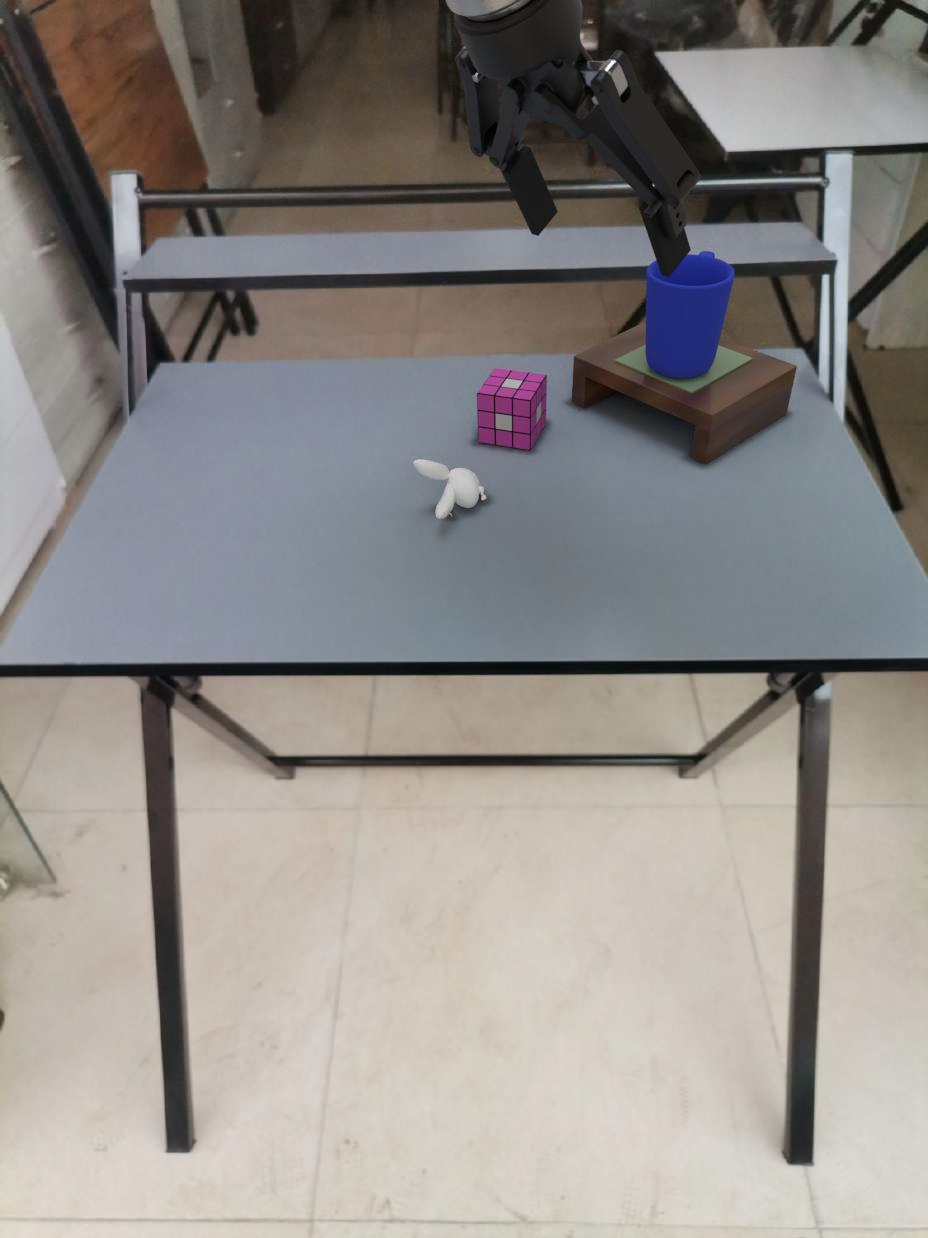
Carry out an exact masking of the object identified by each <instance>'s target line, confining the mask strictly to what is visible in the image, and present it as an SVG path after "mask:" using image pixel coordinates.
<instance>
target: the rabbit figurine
mask: <svg viewBox="0 0 928 1238" xmlns="http://www.w3.org/2000/svg"><path fill="white" fill-rule="evenodd" d="M412 464H413V467H414V469H415V470H416V471H417V472H418V473H419V474H421V475H422V476H423V477H426V478H427V479H431V480H434V481H445V480H446V481H447V483H446V486H445V488H444V490H443V492H442V493H443V494H442V496H441V498H440V500H439V501H438V503H437V505H436V506H435V510H434V511H435V517H436V519H439V520H444V519H446V518H447V517H448V515H450V516H451V517H452V518H453V514H452V513H451V512H452V511H453V509H454V506H455V504H457V505H458V506H459V507H461V508H464V509H470V508H473V507H475V506H476V505H477V503H478V501H479V499H481V501H485V500H487V499H488V497H487V495H486V494H484V492H485V488H484V486H482V485H480V481H479V478H478V477H477V475H476V473H475V472H474V471H471V470H470V469H468V468H466V467H455V468H453V469H451V470H450V471H449V468H448V466H447V465H444V464H442V463H440V462H437V461H434V460H429V459H423V458H422V459H421V458H420V459H419V458H418V459H414V461H413V462H412ZM480 496H481V497H480Z"/></svg>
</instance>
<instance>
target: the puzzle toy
mask: <svg viewBox="0 0 928 1238" xmlns="http://www.w3.org/2000/svg"><path fill="white" fill-rule="evenodd" d="M547 387H548V375H547V374H545V373H538V372H537V373H536V372H528V371H520V370H512V369H506V368H498V367H495V368H494V369H492V371H491V372H490V373H489V375H488V377H487V378H486V379H485V381H484V382H483V384H482V385H481V387H480V388H479V389H478V391H477V392H476V410H477V411H476V413H477V414H476V415H477V416H476V417H477V441H478V443H480V444H481V443H483V444H488V445H494V446H495V445H496V446H501V447H507V448H514V449H521V450H527V451H531V450H532V448H533V446H534V445H535V443H536V441H537V440H538V438H539V436H540V434H541V433H542V431H543V429H544V427H545V426H546V424H547V395H548V393H547V392H548V391H547V390H548V388H547Z"/></svg>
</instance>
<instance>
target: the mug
mask: <svg viewBox="0 0 928 1238" xmlns="http://www.w3.org/2000/svg"><path fill="white" fill-rule="evenodd" d="M715 256H716V253H714V252H713V251H710V250H702V251H700V252H699V253H698V254H691V253H688V254H687V255H686V257H685V258H684V259H683V261H682V262H681V263H680V264H679V266H678V267H677V268H676V269H675V271H674V272H673V273H672V274H671V276H670V277H667V276H664V275H661V272H660V269H659V266H658V263H657V260H656V259H655V260H654V261H652V262H651V263H650V264H649V265H648V267H647V268H646V271H645V272H646V273H645V274H646V278H645V322H646V347H645V353H646V360H647V363H648V365H649V367H650V368H651V369H652V370H653V371H655V372H656V373H658V374H660V375H663V376H666V377H670V378H679V379H685V378H692V377H697V376H700V375H702V374H704V373H705V372H707V371H708V370H709V369H710V367H711V366H712V364H713V362H714V360H715V357H716V353H717V348H718V344H719V340H720V338H721V335H722V331H723V326H724V323H725V318H726V314H727V310H728V307H729V302H730V298H731V294H732V293H731V292H732V289H733V284H734V280H735V274H736V273H735V269H734V268H733V266H732V265H731V264H729V263H728V262H726V261H725V260H722V259H720V258H717V257H715Z"/></svg>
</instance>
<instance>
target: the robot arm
mask: <svg viewBox="0 0 928 1238" xmlns="http://www.w3.org/2000/svg"><path fill="white" fill-rule="evenodd" d="M444 1H445V4H446V5H447V8H448V9H449V10H450V11H451V12H452V13H453V22H454V25H455V27H456V30H457V32H458V34H459V36H460V39H461V40H462V43H463V45H464V46H463V47H462V48H461V50H460V51H458V54H457V55H456V56H455V57H454V61H455V64H456V67H457V70H458V72H459V75H460V78H461V80H462V83H463V91H464V100H465V101H464V102H465V112H466V120H467V121H466V123H467V133H468V143H469V144H468V145H469V149H470V151H471V153H472V154H473V155H474V156H476V157H477V158H482V157H483V156H484V155H486V156H488V160H489V161H490V163H491V164H492V166H494V167H495V168H497V169H499V171H500V172H501V174H502V176H503V179H504V181H505V183H506V185H507V188H508V190H509V191H510V192H511V194H512V195H513V197H514V200H515V201H516V204H517V206H518V208H519V210H520V212H521V214H522V216H523V218H524V220H525V222H526V225H527V227H528V229H529V231H530V233H531V235H534V236H536V237H539V236H540V235H541V233H542V232H543V231H544V230H545V228H547V226H548V225H549V224H550V222H551V221H552V220H553V218H554V217H555V216H556V215H557V214H558V212H559V210H558V209H557V206H556V203H555V201H554V199H553V197H552V194H551V192H550V190H549V188H548V184H547V183H546V181H545V178H544V176H543V174H542V171H541V169H540V166H539V164H538V162H537V159H536V158H535V155H534V153H533V151H532V148H531V147H530V146H527V145H523V146H522V147H521V148H520V149H519V150H518V147H519V146H520V144H522V142H524V140H525V138H526V135H524V133H525V131H526V127H527V125H528V122H529V119H531V121H536V122H546V121H547V122H548V123H551V124H553V125H555V126H559V127H562V128H563V129H564V130H565V131H566V133H568V134H569V135H570V136H571V137H572V138H573V139H574V140H575V141H582V140H584V141H585V142H587V144H588V145H590V147H591V148H592V149H593V150H594V151H595V152H596V153H597V154H598V155H599V156H600V157H601V159H603V160H604V161H605V162H606V163H607V164H608V165H609V166H610V168H612V169H613V170H614V172H615V173H617V175H618V176H619V177H621V179H622V180H623V181H625V183H627V185H628V186H629V187H630V188H631V189H632V190H633V191H634V192H635V193H636V194H637V195H638V196H639V197H640V198H641V199H642V201H643V202H642V203H641V205H640V206H639V207H638V211H639V213H640V215H641V219H642V221H643V225H644V228H645V231H646V234H647V237H648V239H649V242H650V245H651V249H652V251H653V254H654V258H655V261H656V260H657V263H658V266H659V269H660V272H661V275H664V276H667V277H670V276H671V274H672V273H673V272H674V271H675V269H676V268H677V267H678V266H679V264H680V263H681V262H682V261H683V259H684V258H685V257H686V255H687V254H690V252H691V246H690V243H689V240H688V235H687V232H686V228H685V227H687V223H688V219H687V215H686V211H685V207H684V205H683V201H684V200H686V197H687V196H688V195H689V194H690V193H691V191H692V190H693V189H694V188H695V187H696V185H697V184H698V183H699V181H700V180H701V177H702V176H701V175H702V174H701V173H700V171H699V169H698V167H697V166H696V165H695V163H694V162H693V161H692V159H691V158H690V156H689V155H688V153H687V152H686V150H685V149H684V147H683V146H682V144H681V143H680V141H679V140H678V138H677V137H676V136H675V134H674V133H673V131H672V130H671V128H670V127H669V125H668V124H667V122H666V121H665V120H664V118H663V117H662V115H661V114H660V113H659V111H658V109H657V107H656V106H655V105H654V104H653V102H652V101H651V99H650V98H649V97H648V94H647V93H646V92H645V91H644V89H643V87H642V86H641V85H640V83H639V81H638V78H637V76H636V73H635V70H634V67H633V66H632V63H631V60H630V58H629V56H628V55H627V53H625V52H624V51H623V50H621V49H616V50H614V52H613V53H612V54H611V56H609V58H608V59H607V60H593V58H592V56H591V55H590V54H589V52H588V51H587V49H586V47H584V45H583V42H582V40H581V31H582V30H581V29H582V22H583V21H582V20H583V11H584V9H583V3H582V0H444ZM499 86H500V87H501V88H502V95H501V96H502V100H501V102H500V88H499ZM589 96H590V97H591V101H592V103H593V104H594V106H592V108H591V109H590V110H589V112H588V113H587V114H586V116H584V118H583V119H581V118H579V117H578V115H579V114H580V112H581V111H582V110H583V109H584V107H585V106H586V104H587V101H588V98H589Z"/></svg>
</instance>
